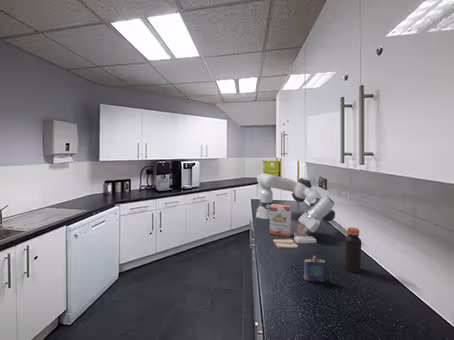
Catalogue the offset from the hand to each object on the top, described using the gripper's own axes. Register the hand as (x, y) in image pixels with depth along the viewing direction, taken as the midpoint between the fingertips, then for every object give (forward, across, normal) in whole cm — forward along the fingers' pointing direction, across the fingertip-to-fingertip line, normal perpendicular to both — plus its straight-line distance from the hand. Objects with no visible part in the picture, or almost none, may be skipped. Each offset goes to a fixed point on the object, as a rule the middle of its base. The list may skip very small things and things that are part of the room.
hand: (300, 231), depth 147 cm
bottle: (-4, -42, -10) cm, 43 cm away
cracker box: (+11, +7, +5) cm, 14 cm away
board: (+12, -10, +6) cm, 17 cm away
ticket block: (+3, 0, -4) cm, 4 cm away
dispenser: (+3, -3, -4) cm, 5 cm away
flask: (+12, -49, +5) cm, 51 cm away
